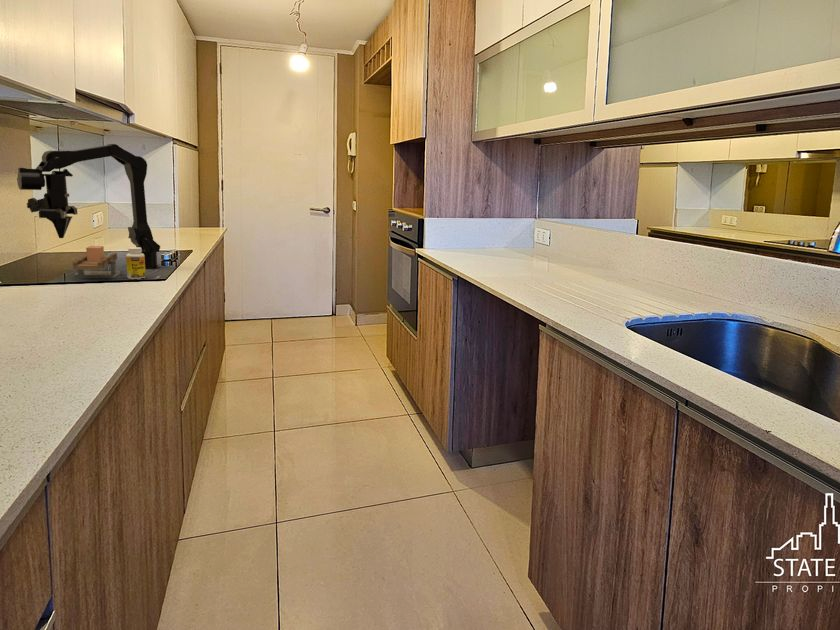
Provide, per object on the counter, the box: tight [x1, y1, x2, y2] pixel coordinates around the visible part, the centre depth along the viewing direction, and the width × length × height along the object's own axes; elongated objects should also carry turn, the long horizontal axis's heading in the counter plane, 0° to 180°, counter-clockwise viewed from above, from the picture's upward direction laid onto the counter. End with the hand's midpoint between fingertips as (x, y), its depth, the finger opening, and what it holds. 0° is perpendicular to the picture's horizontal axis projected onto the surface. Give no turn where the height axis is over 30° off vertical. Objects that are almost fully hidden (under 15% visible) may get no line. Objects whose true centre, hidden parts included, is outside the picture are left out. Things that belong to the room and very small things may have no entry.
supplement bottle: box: [125, 246, 147, 280], centre depth 195 cm, size 6×6×10 cm
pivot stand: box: [73, 260, 121, 279], centre depth 197 cm, size 8×12×5 cm, turn 105°
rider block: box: [85, 245, 105, 262], centre depth 196 cm, size 5×4×4 cm
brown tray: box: [72, 252, 118, 271], centre depth 196 cm, size 22×8×2 cm, turn 15°
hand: (61, 238), depth 196 cm, fingers closed
